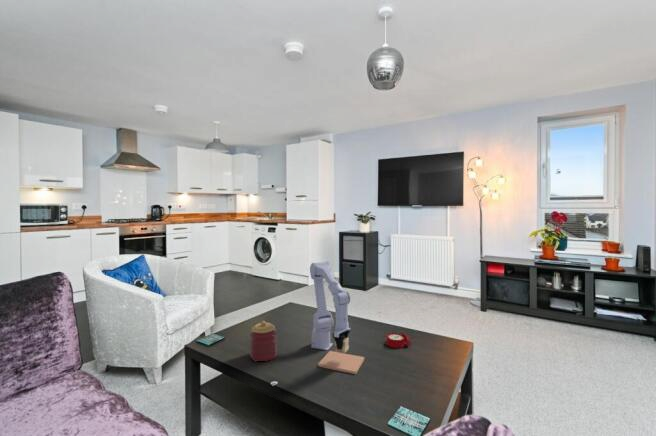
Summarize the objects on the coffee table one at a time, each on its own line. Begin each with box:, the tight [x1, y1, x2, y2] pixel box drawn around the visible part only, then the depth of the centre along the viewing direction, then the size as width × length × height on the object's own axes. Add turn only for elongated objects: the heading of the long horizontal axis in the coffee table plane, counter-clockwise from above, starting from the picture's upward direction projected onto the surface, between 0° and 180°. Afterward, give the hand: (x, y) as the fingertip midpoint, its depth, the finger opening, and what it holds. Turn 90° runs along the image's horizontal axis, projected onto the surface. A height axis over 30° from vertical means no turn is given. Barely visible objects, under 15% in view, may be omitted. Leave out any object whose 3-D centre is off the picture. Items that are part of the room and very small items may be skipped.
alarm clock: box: [382, 332, 414, 349], centre depth 166 cm, size 10×6×15 cm
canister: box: [249, 320, 278, 362], centre depth 153 cm, size 13×13×18 cm
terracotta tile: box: [317, 350, 365, 375], centre depth 146 cm, size 18×14×1 cm
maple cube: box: [334, 337, 350, 354], centre depth 145 cm, size 5×5×5 cm
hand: (341, 346), depth 145 cm, fingers closed on maple cube, 5 cm apart
